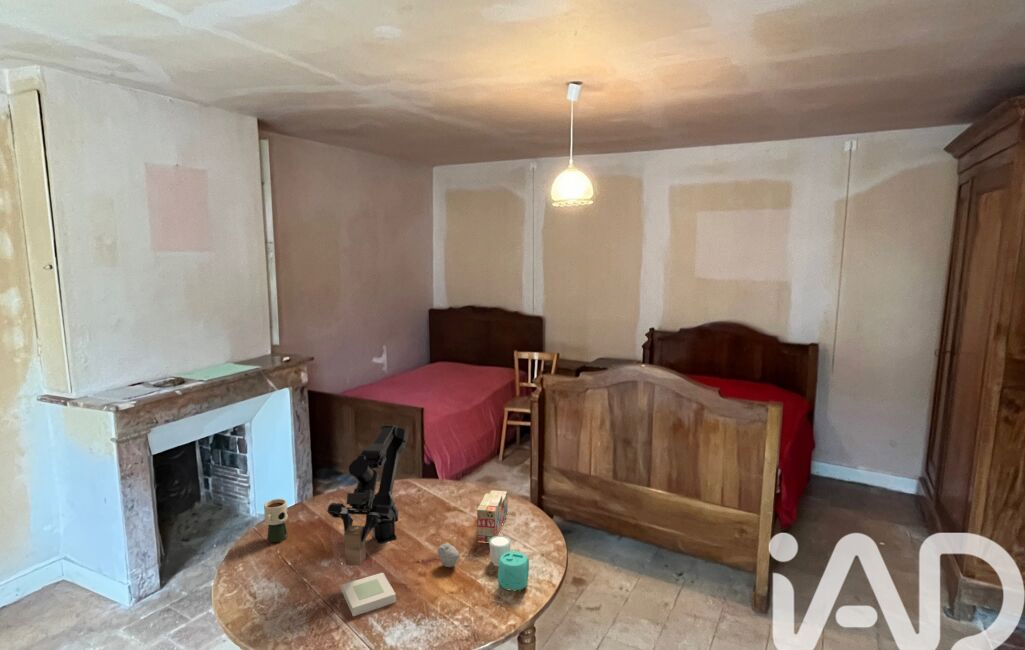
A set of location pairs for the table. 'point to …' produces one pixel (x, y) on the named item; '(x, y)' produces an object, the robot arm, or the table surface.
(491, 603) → the table surface
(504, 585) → the teal lidded canister
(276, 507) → the character mug
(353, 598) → the baseplate
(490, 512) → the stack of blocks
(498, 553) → the white cylinder
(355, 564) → the walnut pillar
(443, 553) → the grey rock
